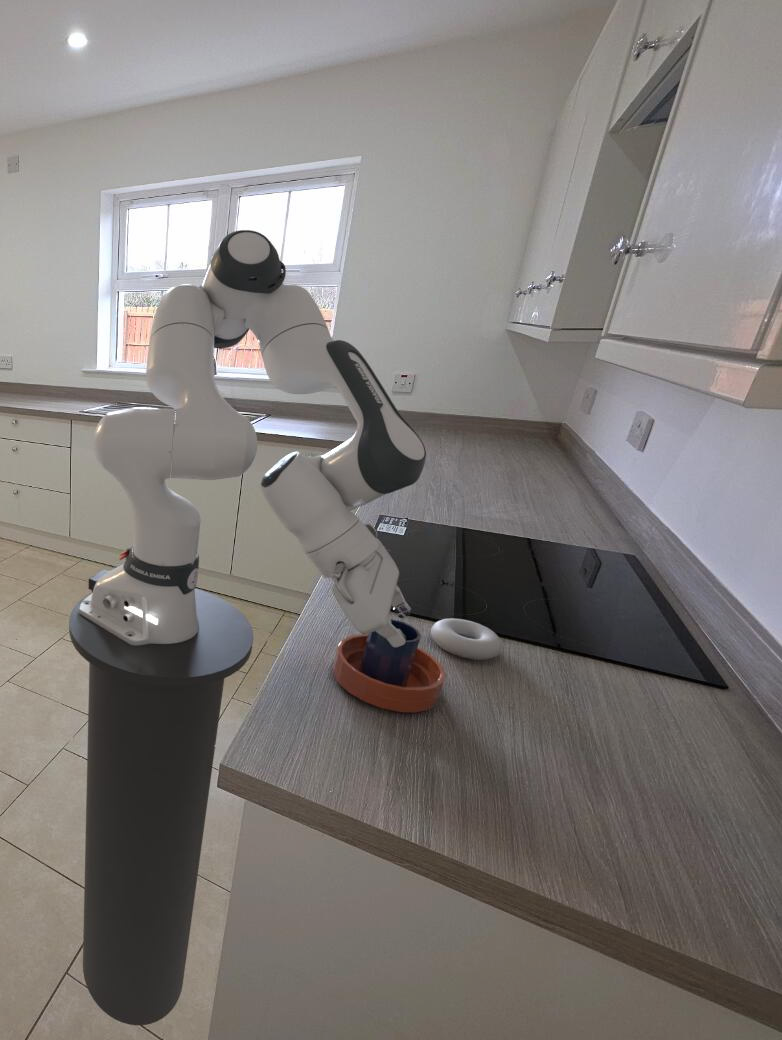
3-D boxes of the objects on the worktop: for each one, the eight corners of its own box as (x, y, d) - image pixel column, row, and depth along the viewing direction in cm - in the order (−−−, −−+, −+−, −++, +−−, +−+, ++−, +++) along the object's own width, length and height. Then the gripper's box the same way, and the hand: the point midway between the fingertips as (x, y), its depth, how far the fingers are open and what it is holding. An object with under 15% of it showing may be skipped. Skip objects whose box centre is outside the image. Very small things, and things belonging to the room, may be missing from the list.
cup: (354, 682, 86) (367, 631, 82) (364, 662, 90) (376, 614, 87) (401, 699, 82) (416, 647, 79) (409, 677, 87) (423, 627, 83)
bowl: (320, 688, 85) (325, 663, 84) (346, 647, 96) (352, 624, 94) (427, 730, 77) (436, 703, 75) (444, 680, 87) (452, 656, 85)
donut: (487, 637, 99) (422, 626, 102) (493, 620, 97) (428, 610, 100) (507, 670, 90) (436, 656, 93) (514, 652, 89) (442, 639, 92)
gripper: (352, 567, 73) (420, 654, 72) (372, 520, 88) (429, 591, 87) (309, 588, 77) (374, 672, 76) (336, 540, 92) (390, 608, 91)
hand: (403, 628), depth 82 cm, fingers open, 8 cm apart
